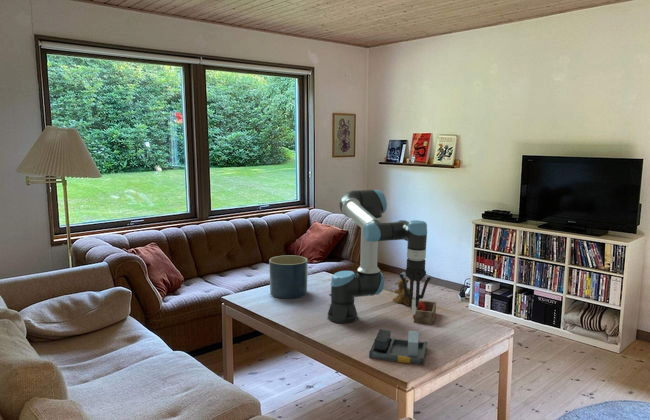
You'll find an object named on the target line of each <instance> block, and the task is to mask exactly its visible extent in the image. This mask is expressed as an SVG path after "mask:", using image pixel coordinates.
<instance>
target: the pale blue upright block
mask: <svg viewBox="0 0 650 420" xmlns="http://www.w3.org/2000/svg"><path fill="white" fill-rule="evenodd" d="M419 333H420V332H419V331H414V330H408V339H407V340H408V356H415V357H418V341H419V336H420V335H419Z"/></svg>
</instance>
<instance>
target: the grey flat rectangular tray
mask: <svg viewBox="0 0 650 420" xmlns="http://www.w3.org/2000/svg"><path fill="white" fill-rule="evenodd" d="M391 333H392V331H391V330H389V329H381V328H380V329H379V330H378V332H377V335H375V338H374V342H373V344H372V345H371V348H370V350H369V353H368V355H369V356H368V357H369V359H373V360H375V359H376V360H383V361H389V362H397V363H403V364H404V363H405V364H413V365H421V366H423V365H424V361H425V357H426V353H427V347H428V342H427V341H420V340H418V357H415V356H408V339H402V338H394V337H392V334H391Z"/></svg>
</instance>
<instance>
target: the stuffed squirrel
mask: <svg viewBox="0 0 650 420" xmlns="http://www.w3.org/2000/svg"><path fill="white" fill-rule="evenodd" d="M408 282H410V279H409V278H408V279H406V283H407V284H408ZM394 285H395V286H397V287H398V288H397V289H394V291H393V292H394V294H397V296H395V297H394V298H392V301H393V302H394V303H396V304H401V305H403V304H404V305H405V306H410V305H409V298H408V297H406V296H405V293H404V288H403V283H402V279H401V278H400V279H399V280H398V281H396V283H395V284H394ZM407 288H408V292H409V294H410V287H407Z"/></svg>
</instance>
